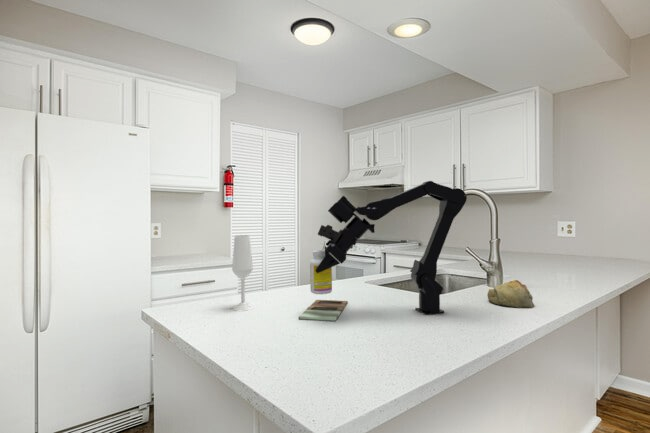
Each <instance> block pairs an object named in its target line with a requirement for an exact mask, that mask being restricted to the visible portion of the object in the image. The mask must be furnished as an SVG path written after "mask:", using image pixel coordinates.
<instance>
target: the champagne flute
mask: <svg viewBox="0 0 650 433" xmlns="http://www.w3.org/2000/svg"><path fill="white" fill-rule="evenodd" d="M233 241H234V242H233V251H232V265H231V266H232V267H231V271H232V273H233V274H234V275H235V276H236V277H237V278H239V279H240V295H241V296H240V299H241V300H240V301H241V302H240V303H238V304H237V305H236V306H234V307H233V308H232V310H234V311H239V312H240V311H241V312H242V311H249V310H252V309H254V306H253V305H250V304H249V303H248V302H246V294H245V293H246V292H245V291H246V290H245V288H246V287H245V286H246V284H245V283H246V282H245V279H246V278H247V277H248V276H250V275H251V273H252V272H253V269H254V267H253V256H252V249H251V248H252V246H251V237H250V234H240V235H238V234H237V235H234V239H233Z"/></svg>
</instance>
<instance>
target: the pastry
mask: <svg viewBox="0 0 650 433" xmlns="http://www.w3.org/2000/svg"><path fill="white" fill-rule="evenodd" d="M486 297H487V299H488V301H489V302H491V303H492V304H495V305H497V306H506V307H511V308H512V307H513V308H515V309H520V308H521V309H522V308H524V309H525V308H527V309H530V308H534V306H535V303H534V301H533V298H534V297H533V294H532V293H531V292H530V291H529V289H528V286H527V285H526V284H523V283H522V282H521V281H519V280H518V279H516V280H511V281H508V282H504V283H502V284H499V285H495V286H494V287H493V288H490V289H488V291H487V296H486Z"/></svg>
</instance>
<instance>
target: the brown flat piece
mask: <svg viewBox="0 0 650 433" xmlns="http://www.w3.org/2000/svg"><path fill="white" fill-rule="evenodd" d="M348 303H349V302H348V300H337V299H336V300H335V299H334V300H333V299H332V300H331V299H330V300H327V299H315V301H314V302H313V303H311V304H310V306H308V307H307V308H306V309H305V310H304V311H303V312H302V313H301V314H299V316H298V320H303V321H304V320H305V321H323V322H325V321H326V322H336V321H337V320H338V318H339V317H340V316H341V315H342V314H341V313H343V311H344V310H345V308H346V306H347V305H348Z"/></svg>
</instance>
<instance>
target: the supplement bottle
mask: <svg viewBox="0 0 650 433" xmlns="http://www.w3.org/2000/svg"><path fill="white" fill-rule="evenodd" d="M312 256H313V258H312V259H311V260H310V262H309V272H310V273H309V274H310V275H309V276H310V277H309V278H310V283H309V284H310V285H309V286H310V293H312V294H313V295H314V294H315V295H326V294H331V293H332V291H333V279H332V278H333V277H332V276H333V274H332V268H333V267H331V268H328V269H326V270H324V271H322V272H319V273H317V272H316V271H315V270H316V269H317V267H318V266H319V264H320V263H321V261H322V260H323V258H324V257H325V249H321V250H320V249H317V250H313V251H312Z"/></svg>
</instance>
